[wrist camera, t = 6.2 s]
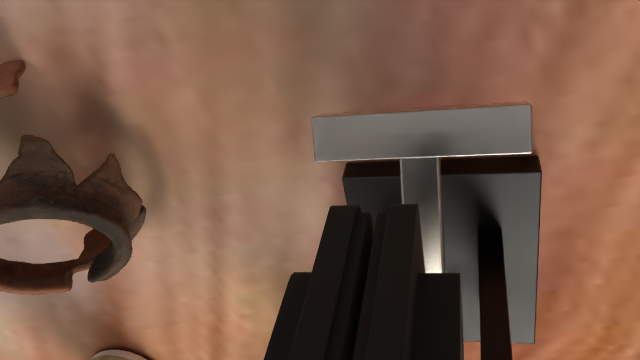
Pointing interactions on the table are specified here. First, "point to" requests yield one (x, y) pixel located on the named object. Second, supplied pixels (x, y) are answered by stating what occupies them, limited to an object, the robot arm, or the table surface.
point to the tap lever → (425, 150)
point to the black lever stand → (477, 239)
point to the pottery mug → (65, 209)
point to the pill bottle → (117, 355)
